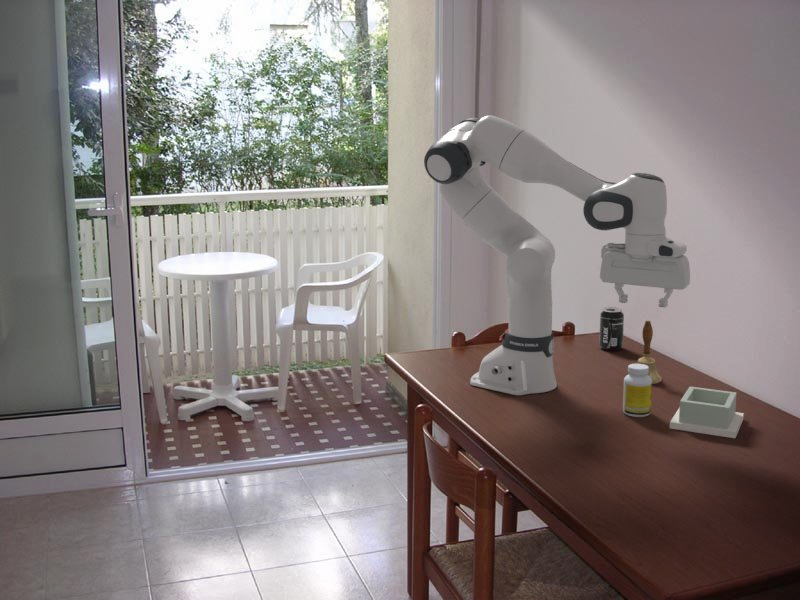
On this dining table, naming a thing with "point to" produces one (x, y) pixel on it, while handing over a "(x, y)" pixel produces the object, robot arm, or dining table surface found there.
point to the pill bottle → (637, 391)
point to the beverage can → (611, 328)
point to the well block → (708, 413)
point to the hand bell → (646, 358)
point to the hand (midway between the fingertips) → (642, 304)
